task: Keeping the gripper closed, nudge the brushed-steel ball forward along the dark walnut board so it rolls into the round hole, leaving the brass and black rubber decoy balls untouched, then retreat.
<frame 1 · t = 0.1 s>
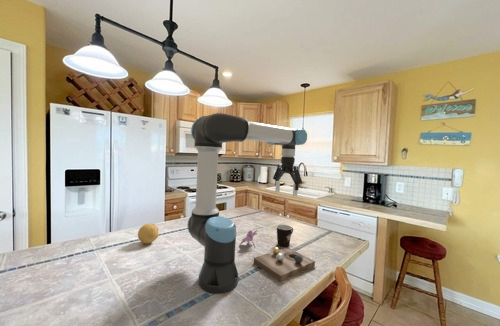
hand: (285, 193, 121), 28 cm above the kitchen island, fingers open, 13 cm apart
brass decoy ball: (276, 251, 101), point 4 cm above the kitchen island, touching board
stress ball: (148, 243, 112), on the kitchen island
coffee mug: (285, 245, 119), on the kitchen island
steel ball: (279, 257, 95), point 4 cm above the kitchen island, touching board
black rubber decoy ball: (298, 259, 94), point 4 cm above the kitchen island, touching board
lily: (249, 246, 115), on the kitchen island
board: (284, 264, 97), on the kitchen island
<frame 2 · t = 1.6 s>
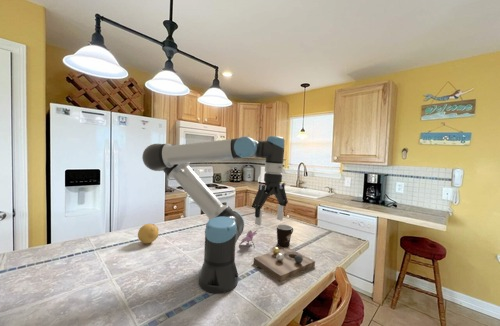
hand: (269, 222, 91), 21 cm above the kitchen island, fingers open, 13 cm apart
nothing on the kitchen island moved.
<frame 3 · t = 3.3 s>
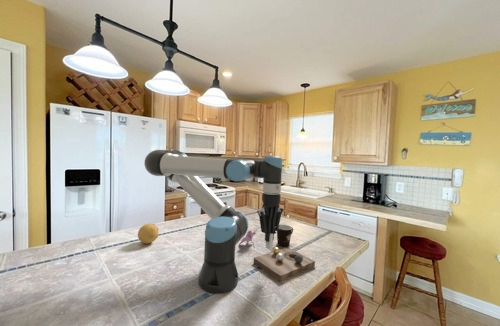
hand: (268, 248, 90), 10 cm above the kitchen island, fingers closed
nothing on the kitchen island moved.
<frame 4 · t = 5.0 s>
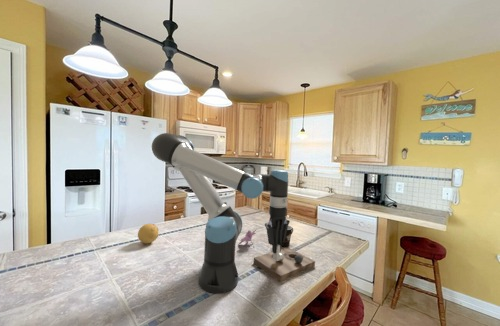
hand: (276, 259, 93), 4 cm above the kitchen island, fingers closed
nothing on the kitchen island moved.
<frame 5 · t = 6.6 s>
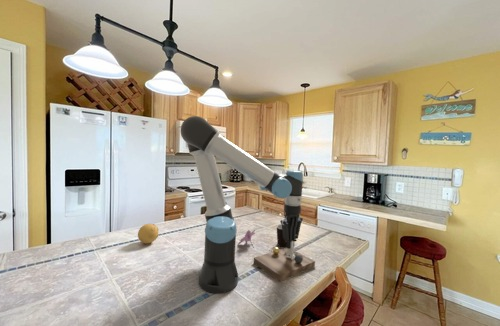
hand: (289, 254, 99), 4 cm above the kitchen island, fingers closed
steel ball: (292, 258, 100), point 2 cm above the kitchen island, tilted 42°
everything else where it was.
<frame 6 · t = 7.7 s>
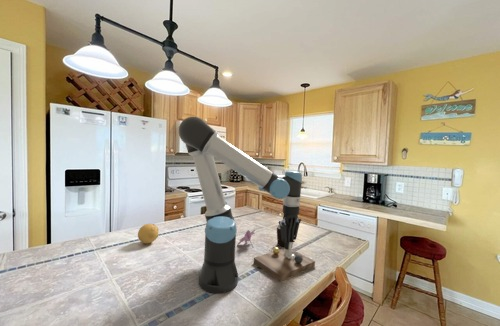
hand: (287, 255, 98), 4 cm above the kitchen island, fingers closed
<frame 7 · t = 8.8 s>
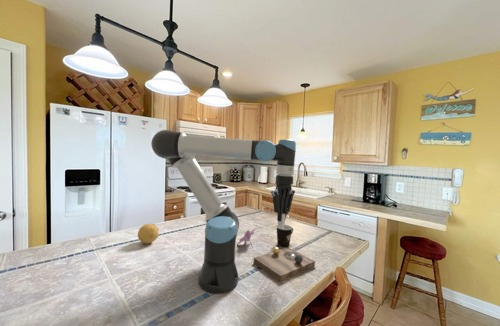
hand: (280, 227, 94), 18 cm above the kitchen island, fingers closed
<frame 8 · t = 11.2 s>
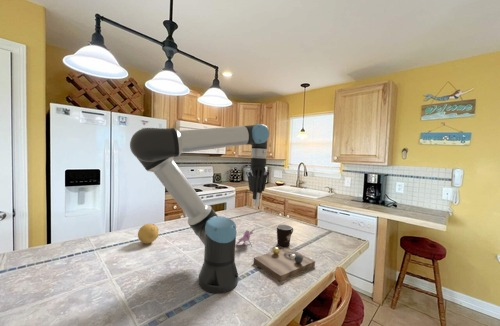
hand: (256, 205, 104), 24 cm above the kitchen island, fingers closed
steel ball: (293, 257, 100), point 2 cm above the kitchen island, tilted 25°
at the end: steel ball 0.1 cm from the target spot in the board, point 1.7 cm above the board's base; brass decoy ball moved 0.1 cm from its start; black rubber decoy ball moved 0.1 cm from its start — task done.
